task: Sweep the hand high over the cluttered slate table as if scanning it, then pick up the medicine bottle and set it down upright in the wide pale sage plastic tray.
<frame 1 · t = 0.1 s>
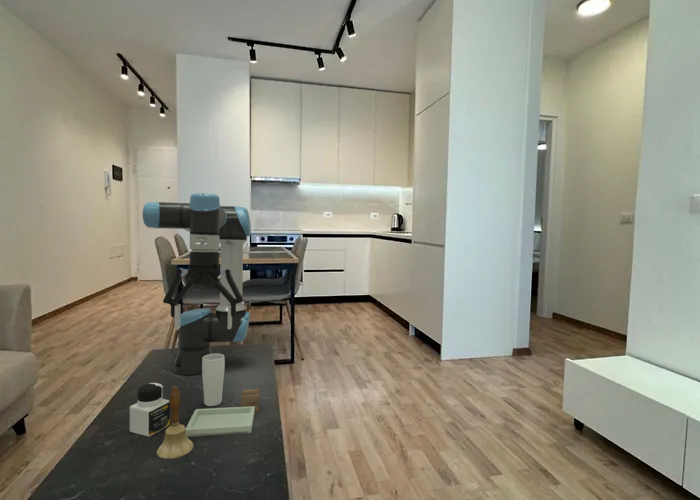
hand: (203, 328, 104), 28 cm above the table, fingers open, 13 cm apart
walnut block: (250, 408, 117), on the table
medicine bottle: (150, 429, 104), on the table
tray: (222, 424, 107), on the table
drinking glass: (213, 404, 120), on the table
hand bell: (175, 450, 94), on the table
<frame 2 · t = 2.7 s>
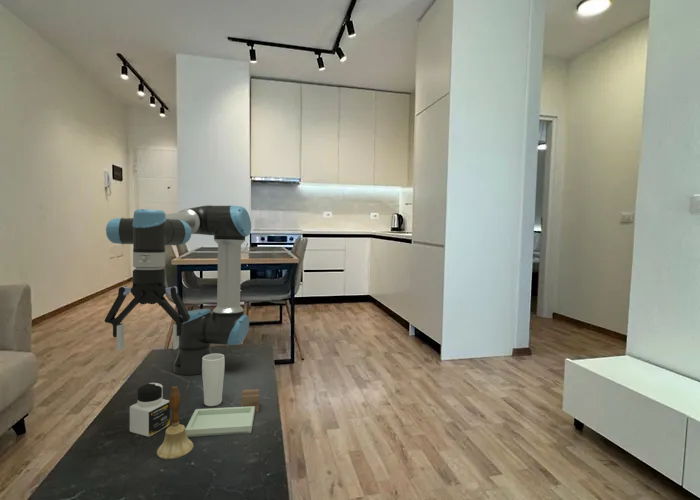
hand: (148, 348, 100), 23 cm above the table, fingers open, 13 cm apart
nothing on the table moved.
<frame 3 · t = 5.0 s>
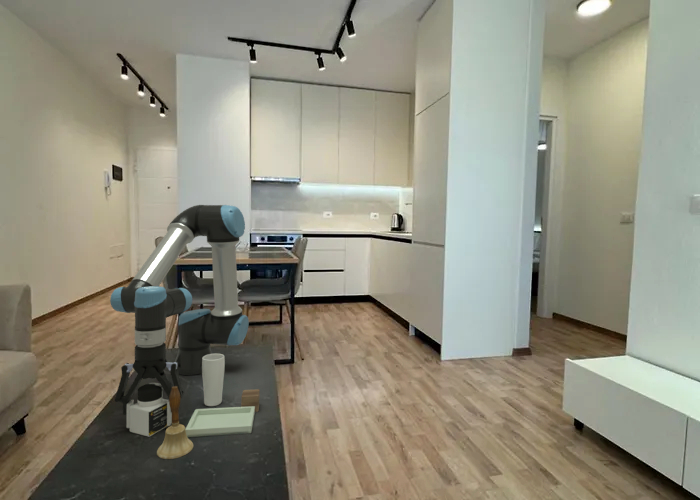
hand: (150, 424, 104), 1 cm above the table, fingers closed on medicine bottle, 9 cm apart
medicine bottle: (150, 429, 104), on the table, touching gripper
everything else where it was.
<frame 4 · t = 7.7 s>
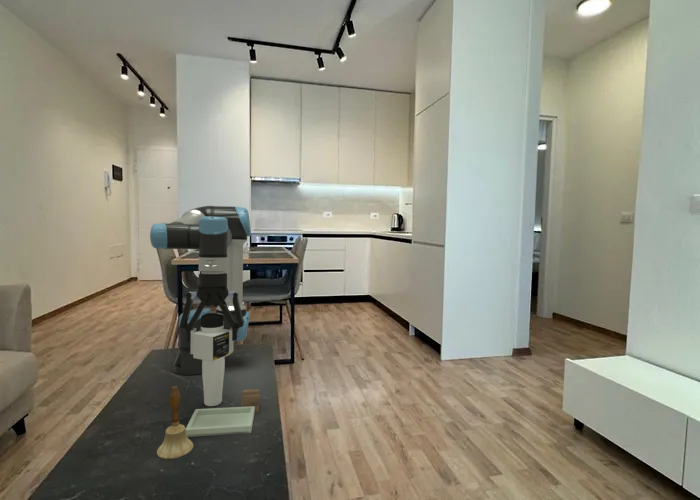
hand: (212, 352, 106), 21 cm above the table, fingers closed on medicine bottle, 9 cm apart
medicine bottle: (212, 357, 106), point 19 cm above the table, touching gripper
everything else where it was.
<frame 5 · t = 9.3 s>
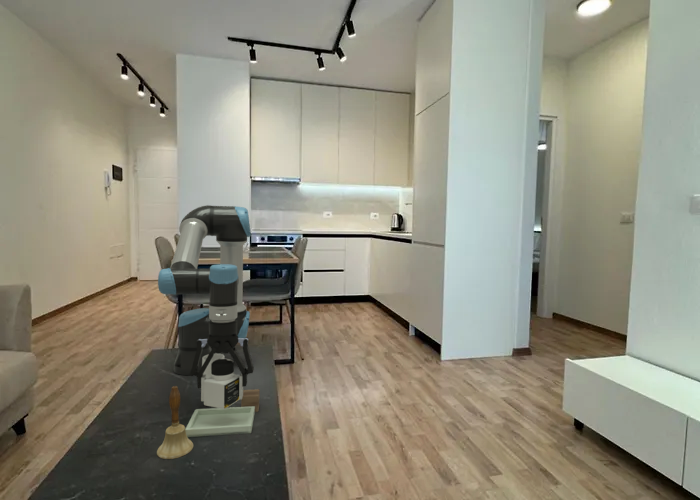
hand: (222, 398, 107), 7 cm above the table, fingers closed on medicine bottle, 9 cm apart
medicine bottle: (222, 403, 107), point 6 cm above the table, touching gripper
everything else where it was.
when the fingers open (3 cm above the table, at t = 10.7 s): medicine bottle drops 1 cm, resting on tray.
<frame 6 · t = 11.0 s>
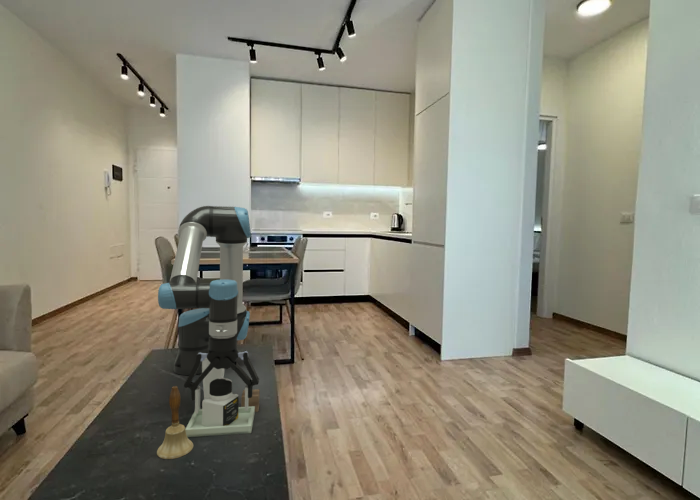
hand: (222, 410, 107), 4 cm above the table, fingers open, 13 cm apart
medicine bottle: (220, 422, 107), resting on tray
everything else where it was.
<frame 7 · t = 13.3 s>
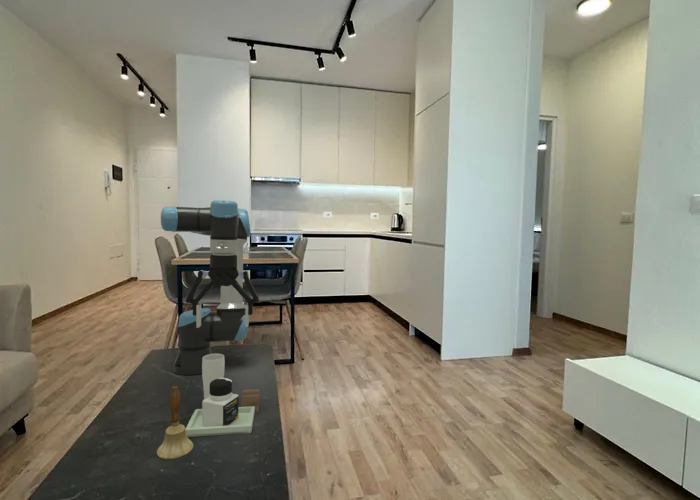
hand: (223, 326, 111), 27 cm above the table, fingers open, 13 cm apart
nothing on the table moved.
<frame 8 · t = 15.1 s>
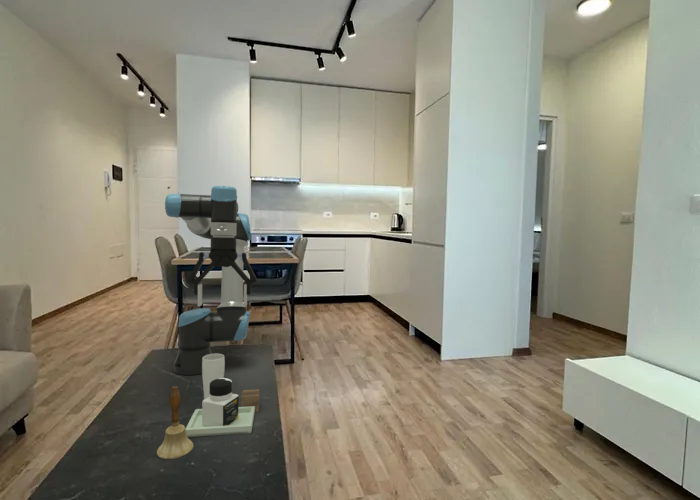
hand: (222, 305, 118), 32 cm above the table, fingers open, 13 cm apart
nothing on the table moved.
at the end: medicine bottle inside the target area on the tray (0.4 cm from its centre), point 0.4 cm above the tray's base; medicine bottle tilted 0°; the gripper is holding nothing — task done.
